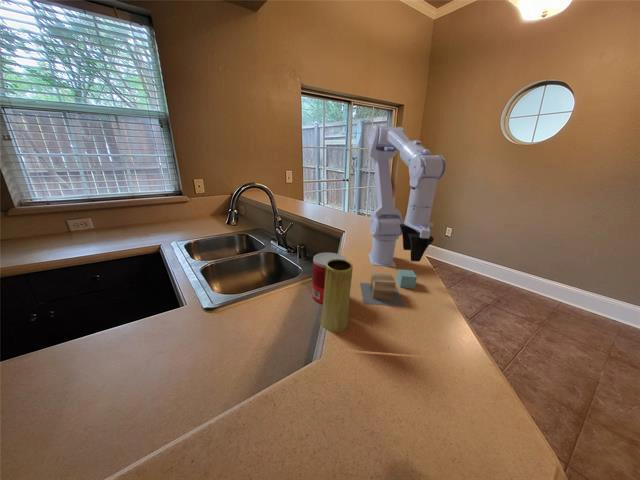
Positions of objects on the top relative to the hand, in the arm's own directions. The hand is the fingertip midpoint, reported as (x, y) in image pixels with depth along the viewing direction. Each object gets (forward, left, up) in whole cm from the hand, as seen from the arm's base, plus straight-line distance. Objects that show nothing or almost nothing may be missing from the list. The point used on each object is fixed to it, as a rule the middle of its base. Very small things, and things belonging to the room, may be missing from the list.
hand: (411, 255), depth 67 cm
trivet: (+6, -8, -10) cm, 14 cm away
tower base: (+6, -8, -9) cm, 13 cm away
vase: (+18, -20, -10) cm, 29 cm away
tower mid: (+6, -8, -7) cm, 12 cm away
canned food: (+9, -22, -10) cm, 26 cm away
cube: (0, 0, -10) cm, 10 cm away
